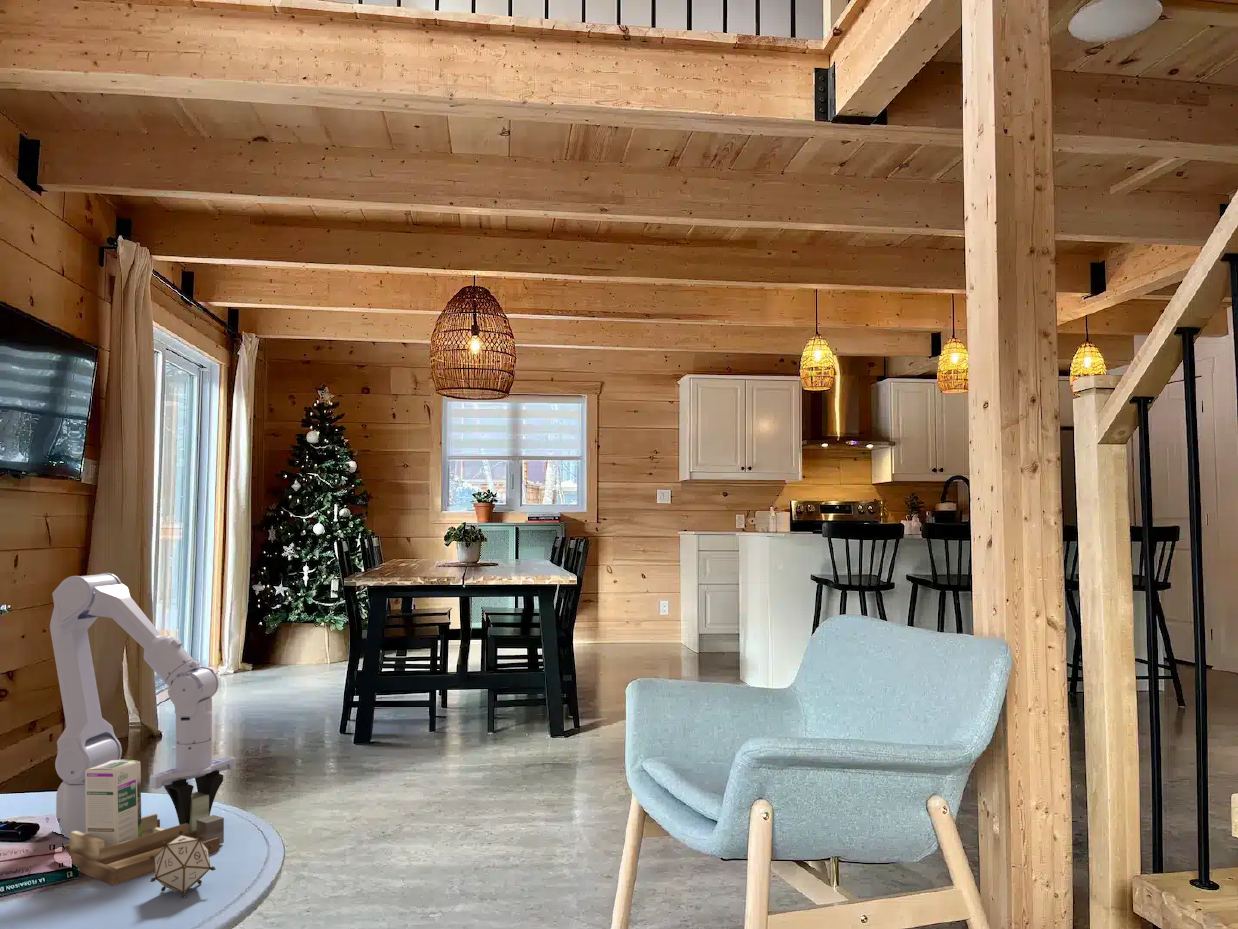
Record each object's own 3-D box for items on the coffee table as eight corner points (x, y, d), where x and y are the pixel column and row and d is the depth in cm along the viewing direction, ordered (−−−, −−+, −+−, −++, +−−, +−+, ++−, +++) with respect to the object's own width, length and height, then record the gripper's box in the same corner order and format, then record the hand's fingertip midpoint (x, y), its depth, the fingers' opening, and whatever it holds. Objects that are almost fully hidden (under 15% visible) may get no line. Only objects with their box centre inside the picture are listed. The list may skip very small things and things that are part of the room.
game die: (175, 914, 136) (172, 846, 142) (229, 892, 136) (224, 824, 142) (135, 905, 129) (134, 833, 135) (192, 882, 129) (189, 811, 135)
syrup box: (116, 863, 147) (117, 769, 148) (84, 862, 148) (84, 768, 149) (142, 851, 153) (142, 759, 153) (110, 849, 154) (110, 758, 155)
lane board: (53, 861, 149) (53, 848, 149) (158, 830, 162) (158, 819, 163) (113, 885, 138) (113, 871, 138) (219, 850, 152) (219, 838, 152)
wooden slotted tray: (68, 857, 150) (69, 819, 150) (186, 822, 166) (186, 789, 166) (100, 869, 144) (101, 830, 144) (219, 832, 160) (219, 797, 160)
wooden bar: (105, 871, 143) (105, 844, 143) (210, 838, 157) (210, 814, 157) (121, 878, 140) (121, 850, 140) (226, 843, 154) (226, 818, 154)
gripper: (165, 752, 154) (165, 837, 153) (245, 734, 166) (246, 813, 165) (142, 747, 158) (142, 830, 157) (222, 730, 170) (223, 807, 169)
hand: (194, 821), depth 161 cm, fingers closed on wooden slotted tray, 3 cm apart
